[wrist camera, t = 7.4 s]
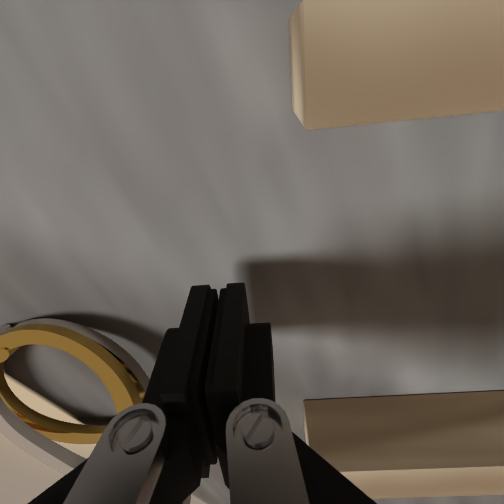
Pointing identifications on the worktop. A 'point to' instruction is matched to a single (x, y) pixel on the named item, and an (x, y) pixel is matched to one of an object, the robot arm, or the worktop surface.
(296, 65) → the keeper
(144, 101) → the worktop surface
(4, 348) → the ring
